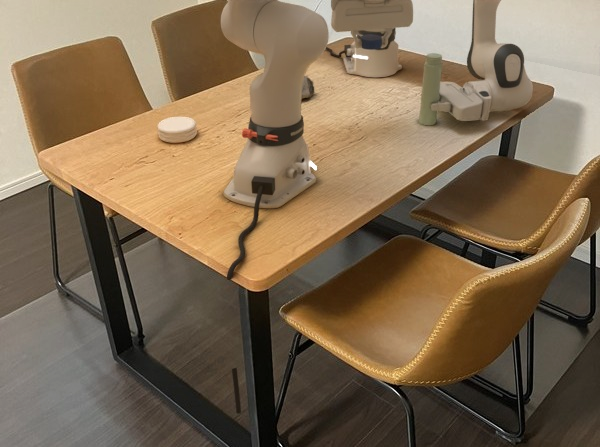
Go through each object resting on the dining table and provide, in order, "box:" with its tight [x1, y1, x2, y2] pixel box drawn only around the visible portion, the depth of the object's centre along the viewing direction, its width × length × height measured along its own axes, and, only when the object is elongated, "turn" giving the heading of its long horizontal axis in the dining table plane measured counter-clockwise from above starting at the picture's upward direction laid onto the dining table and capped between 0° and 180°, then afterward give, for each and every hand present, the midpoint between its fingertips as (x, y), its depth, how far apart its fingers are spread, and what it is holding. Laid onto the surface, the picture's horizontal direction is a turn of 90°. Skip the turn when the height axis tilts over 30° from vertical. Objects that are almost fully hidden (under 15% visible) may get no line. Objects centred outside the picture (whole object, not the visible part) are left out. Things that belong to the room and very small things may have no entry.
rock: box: [301, 75, 315, 100], centre depth 186 cm, size 15×10×7 cm
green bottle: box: [418, 52, 443, 126], centre depth 164 cm, size 5×5×18 cm
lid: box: [360, 34, 382, 50], centre depth 156 cm, size 5×6×2 cm
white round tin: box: [156, 116, 198, 144], centre depth 162 cm, size 10×10×4 cm
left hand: (370, 46), depth 156 cm, fingers closed on lid, 5 cm apart
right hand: (426, 102), depth 166 cm, fingers closed on green bottle, 4 cm apart
